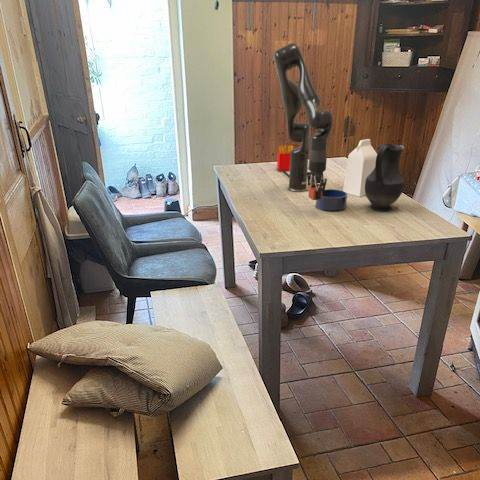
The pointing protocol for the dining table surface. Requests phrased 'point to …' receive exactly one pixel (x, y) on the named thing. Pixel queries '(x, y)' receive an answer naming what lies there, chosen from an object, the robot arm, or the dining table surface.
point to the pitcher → (385, 178)
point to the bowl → (332, 200)
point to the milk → (359, 168)
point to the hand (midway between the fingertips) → (315, 197)
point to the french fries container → (284, 158)
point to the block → (313, 193)
